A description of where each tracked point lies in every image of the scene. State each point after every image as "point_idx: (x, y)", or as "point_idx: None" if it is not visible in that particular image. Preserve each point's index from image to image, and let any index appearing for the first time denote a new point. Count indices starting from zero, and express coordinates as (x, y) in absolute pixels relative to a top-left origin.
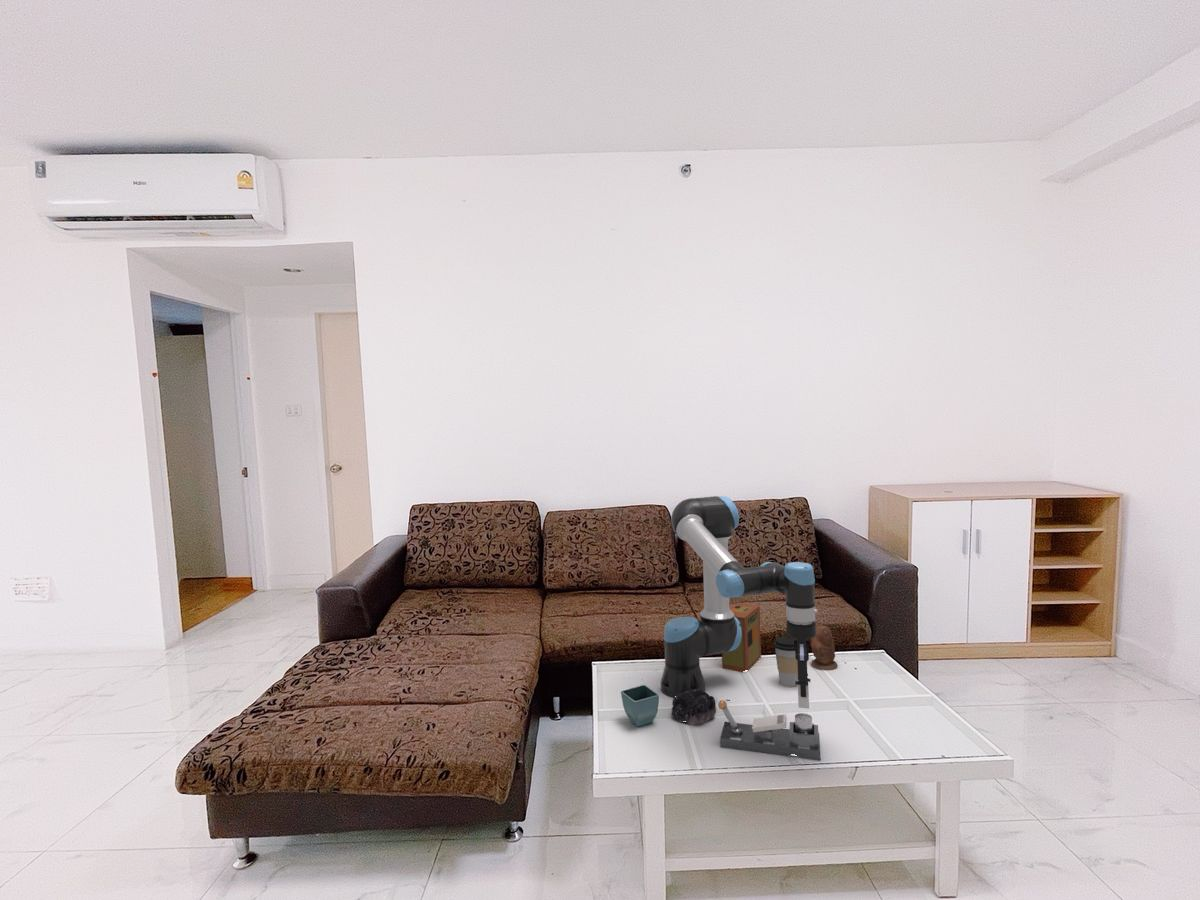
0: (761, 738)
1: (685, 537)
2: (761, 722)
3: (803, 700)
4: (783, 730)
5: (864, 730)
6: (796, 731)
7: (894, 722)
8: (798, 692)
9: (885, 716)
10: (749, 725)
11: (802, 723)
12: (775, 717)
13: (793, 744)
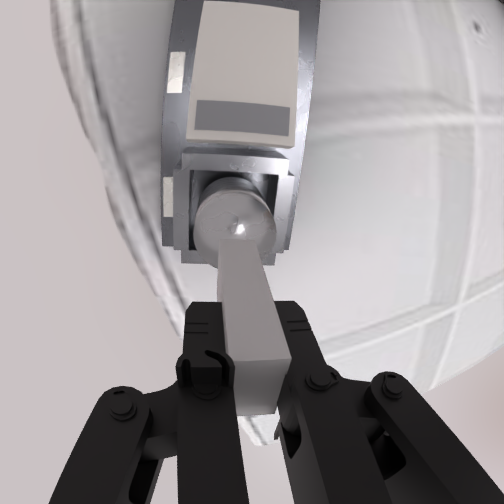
0: None
1: None
2: (245, 33)
3: (219, 295)
4: None
5: (343, 334)
6: (214, 182)
7: (368, 371)
8: (224, 303)
9: (390, 359)
10: (311, 11)
11: (194, 224)
12: (274, 95)
13: (178, 161)
